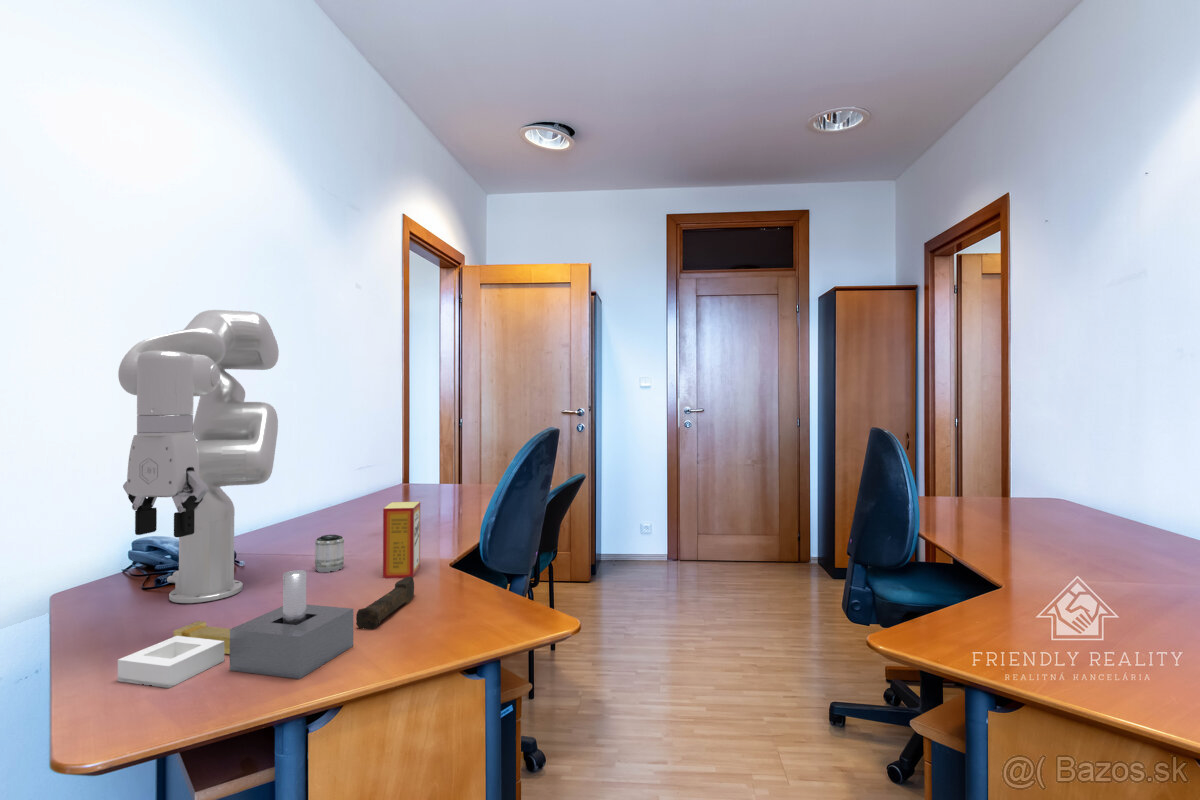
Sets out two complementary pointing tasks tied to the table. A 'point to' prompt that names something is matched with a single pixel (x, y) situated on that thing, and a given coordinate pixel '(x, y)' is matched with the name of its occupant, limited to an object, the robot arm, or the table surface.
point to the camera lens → (329, 553)
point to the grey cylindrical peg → (294, 597)
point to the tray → (170, 661)
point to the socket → (291, 642)
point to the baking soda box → (401, 539)
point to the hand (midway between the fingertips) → (164, 533)
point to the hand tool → (386, 604)
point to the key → (206, 633)
